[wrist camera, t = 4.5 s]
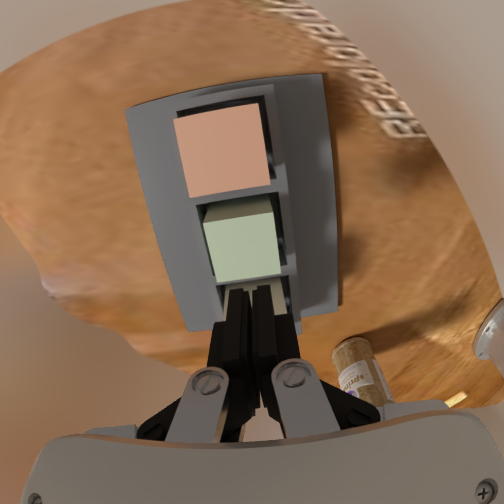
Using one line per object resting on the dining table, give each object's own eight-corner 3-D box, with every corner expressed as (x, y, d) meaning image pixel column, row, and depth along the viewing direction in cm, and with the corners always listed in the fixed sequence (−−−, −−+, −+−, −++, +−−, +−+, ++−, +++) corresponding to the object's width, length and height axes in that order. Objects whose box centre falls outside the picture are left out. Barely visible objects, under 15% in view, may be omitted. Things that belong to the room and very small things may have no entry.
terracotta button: (254, 106, 16) (258, 103, 12) (264, 168, 18) (270, 184, 14) (190, 118, 16) (173, 119, 12) (202, 178, 18) (189, 197, 14)
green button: (267, 191, 20) (273, 212, 16) (274, 242, 22) (281, 273, 18) (211, 200, 20) (202, 223, 16) (222, 250, 22) (217, 282, 18)
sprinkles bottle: (335, 337, 28) (371, 453, 16) (374, 333, 28) (421, 439, 16) (327, 366, 30) (354, 473, 18) (364, 362, 30) (400, 462, 18)
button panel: (319, 74, 17) (333, 67, 14) (336, 307, 26) (346, 332, 23) (127, 109, 18) (106, 109, 15) (189, 327, 27) (183, 354, 24)
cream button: (280, 276, 21) (287, 315, 17) (285, 318, 23) (292, 358, 19) (226, 284, 22) (222, 323, 18) (236, 324, 23) (234, 365, 19)
